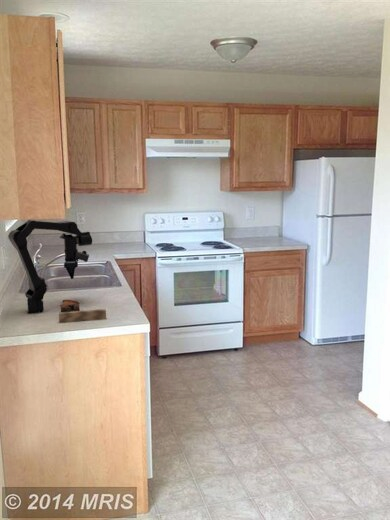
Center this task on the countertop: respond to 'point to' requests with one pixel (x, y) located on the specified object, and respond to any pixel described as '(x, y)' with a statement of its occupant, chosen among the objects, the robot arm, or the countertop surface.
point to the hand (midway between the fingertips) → (72, 278)
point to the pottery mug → (69, 306)
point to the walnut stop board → (82, 315)
